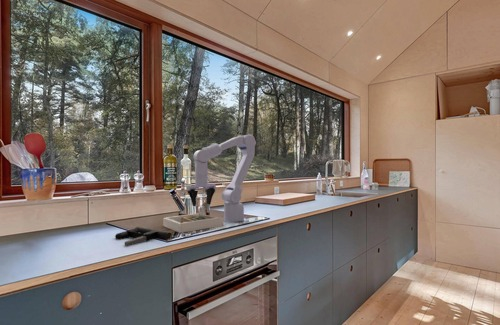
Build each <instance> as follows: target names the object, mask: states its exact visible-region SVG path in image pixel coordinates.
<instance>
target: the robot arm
mask: <svg viewBox="0 0 500 325" xmlns="http://www.w3.org/2000/svg"><path fill="white" fill-rule="evenodd" d="M256 145H257V142H256V139H255V137H254V135H253V134H249V133H248V134H246V135H244V134H243V135H238V136H234V137H232V138H230V139H227V140H226V141H224V142H221V143H220V144H218V143H216V142H215V143H210V145H209V146H205V147H202V148H201V149H199V150H196V151H195V152H194V154H193V156H192V159H193V162H194V165H195V166H194V170H195V171H194V177H195V178H194V181H195V182H194V185H186V188H185V190H186V191H187V194H188V196H189V197H190V200H191V205H192V206H193V207H196V206H197V196H198V195H197V194H198V191H197V190H205V194H206V204H207V205H211V204H212V199H213V196H214V194H215V192H216V189H217V185H216V184H211V183H210V184H208V183H209V182H208V179H209V178H208V173H209V172H208V162H209V160H210V159H213V158H216V157H217V156H220V155H221V154H222V151H224V150H226V149H227V150H228V149H230V148H232V147H237V148H238V150H240V151H241V153H242V158H241V160H240V161H239V164H238V165H237V168H236V171H235V173H234V174H233V177H232V178H231V179H232V180H231V182H230V183H228V184H227V186H226V187H225V189H224V190H223V191H222V192H221V199H222V200H223V201H224V202H223V217H224V223H227V224H232V223H240V222H244V221H246V220H245V210H244V204H243V203H242V202H240V201H241V198H242V193H243V188H242V186H243V183H244V181H245V178H246V177H247V174H248V171H249V169H250V167H251V165H252V163H253V160H254V157H255V154H256V153H255V152H256V150H255V149H256Z"/></svg>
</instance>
